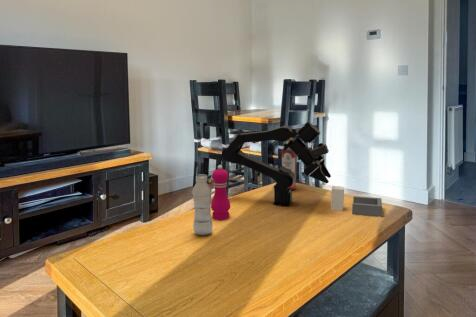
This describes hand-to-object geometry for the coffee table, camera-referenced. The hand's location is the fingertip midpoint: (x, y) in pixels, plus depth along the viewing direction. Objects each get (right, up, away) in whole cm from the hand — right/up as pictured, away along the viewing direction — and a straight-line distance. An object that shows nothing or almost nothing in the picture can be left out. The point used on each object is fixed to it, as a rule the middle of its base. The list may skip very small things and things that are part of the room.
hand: (329, 179), depth 155 cm
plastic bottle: (-48, -17, -24) cm, 56 cm away
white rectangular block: (+3, -11, +1) cm, 12 cm away
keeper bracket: (+14, -12, -2) cm, 19 cm away
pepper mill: (-42, -14, -8) cm, 45 cm away
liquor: (-12, -6, +29) cm, 32 cm away
